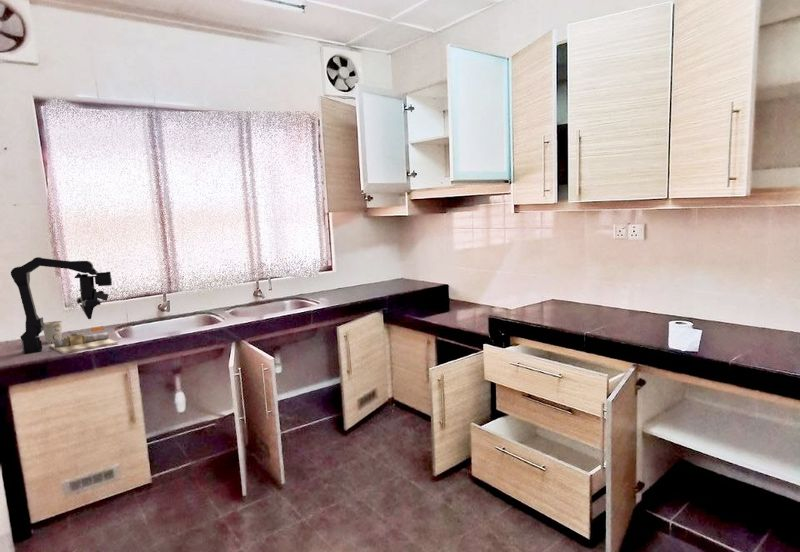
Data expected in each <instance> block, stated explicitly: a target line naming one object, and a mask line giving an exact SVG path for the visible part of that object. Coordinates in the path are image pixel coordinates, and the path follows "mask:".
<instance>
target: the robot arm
mask: <svg viewBox="0 0 800 552" xmlns="http://www.w3.org/2000/svg"><path fill="white" fill-rule="evenodd" d="M39 267H45V268H46V267H47V268H48V267H49V268H57V269H66V270H71V271H75V272H78V273H76V275H75V276H74V279H79V289H78V292H79V293H80V296H79V297H77V298H76V304H77V305H78V304H79V307H80V308H81V310H82V311H83V312H84V315H85V316H86V318H87V319H88V320H92V316H93V312H94V309H95V307H97V306H101V300H103V301H108V299H109V293H108V294H107V293H105V292H104V290H98V291H97V289H96V288H95V285H97V286H98V287H108V286H112V285H113V280H112V274H111V271H105V272H103V271H102V272H98V270H96V269H95V268H94V265H93V263H92V262H91V261H90V260H73V261H72V260H71V261H70V260H64V259H63V260H61V259H53V258H46V257H41V256H39V257H34V258H33V259H32V260H30V261H28V262H26V263H25V264H23V265H21V266H16V267H14V268H12V269H11V271H10V276H11V278H12V280H13V282H14V284H15V285H16V286H17V288H18V292H19V295H20V300H21V304H22V307H23V311H24V314H25V331H24V332H23V333H22V334H21V335H20V336H19V337H20V339H21V347H22V350H21V353H23V354H24V355H25V354H26V355H27V354H32V353H37V352H42V351H43V345H42V344H43V343H42V340H41V339H40V337H39V336H40V334H41V333H42V332H44V331H43V329H44V326H45V324H44V323H45V322H44V318H43V317H42V316H41V317H39V315H38V314H37V309H36V305H35V301H34V298H33V295H32V294H33V293H32V291H31V290H32V289H31V286H30V280H31V274H30V273H31V272H33V271H35V270H36V269H38V268H39ZM81 273H82V274H81Z"/></svg>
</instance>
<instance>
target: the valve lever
mask: <svg viewBox="0 0 800 552" xmlns="http://www.w3.org/2000/svg"><path fill="white" fill-rule="evenodd" d="M98 331H99V332H100V331H104V326H93V327H92V326H91V327H90V328H83V329H76V330H73V332H70V335H77V334H80V333H86V332H87V333H88V332H98Z"/></svg>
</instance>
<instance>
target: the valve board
mask: <svg viewBox="0 0 800 552" xmlns="http://www.w3.org/2000/svg"><path fill="white" fill-rule="evenodd" d="M118 342H119V341H116V340H113V339H110V338H109V333H108V331H106V332H102V333H101V332H100V333H94V334H90V335H85V334H83V335H82V334H81V333H77V335H71V334H68V335H66V337H64V338H63V339H61V340H57V341H54V343H52V344H49V348H50V349H54V350H55V351H58V352H60V353H61V354H69V353H70V354H71V353H75V352H81V351H87V350H91V349H98V348H103V347H102V346H104V347H108V346H107V345H110V346H113V345H112V344H115V345H118V344H119V343H118ZM117 343H118V344H117Z"/></svg>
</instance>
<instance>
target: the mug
mask: <svg viewBox="0 0 800 552" xmlns="http://www.w3.org/2000/svg"><path fill="white" fill-rule="evenodd" d="M44 324H45V326H44V329H43V331H42V332H43V334H44V338H45V342H46V344H51V343H50V342H54V341H57V340H62V334H63V333H62V331H63V321H61V320H57V321H55V320H54V321H53V320H52V321H48V322H44Z"/></svg>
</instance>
